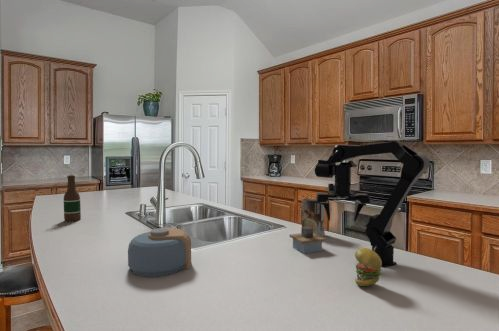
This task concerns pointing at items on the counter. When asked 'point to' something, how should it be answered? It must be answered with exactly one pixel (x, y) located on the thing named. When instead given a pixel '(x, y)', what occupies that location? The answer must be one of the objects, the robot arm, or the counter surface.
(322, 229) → the coffee box
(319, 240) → the lid
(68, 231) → the counter surface
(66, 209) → the beer bottle
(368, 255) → the hamburger
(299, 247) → the light blue open box
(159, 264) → the blue squat cylinder
